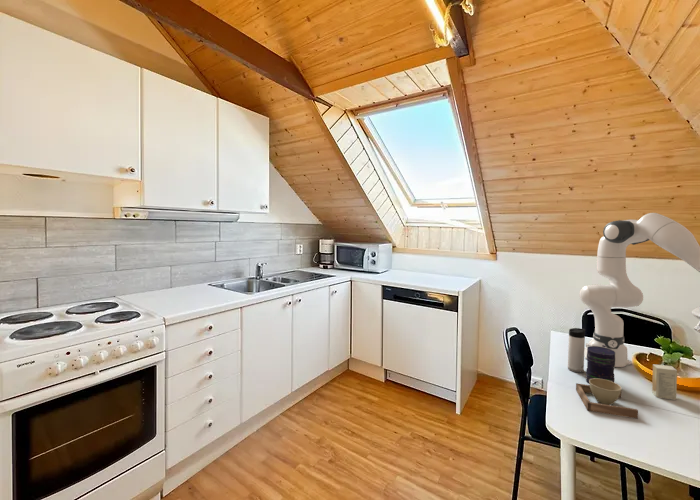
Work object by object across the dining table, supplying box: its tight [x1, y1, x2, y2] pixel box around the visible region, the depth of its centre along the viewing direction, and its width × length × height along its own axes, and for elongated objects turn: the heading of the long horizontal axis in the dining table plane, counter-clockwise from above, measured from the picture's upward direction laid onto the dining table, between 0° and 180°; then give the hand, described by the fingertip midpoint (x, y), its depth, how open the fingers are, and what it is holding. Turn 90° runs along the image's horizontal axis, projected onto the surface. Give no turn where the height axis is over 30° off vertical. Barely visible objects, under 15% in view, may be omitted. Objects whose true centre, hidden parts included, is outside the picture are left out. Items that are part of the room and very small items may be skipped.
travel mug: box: [567, 327, 587, 373], centre depth 155 cm, size 6×7×20 cm
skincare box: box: [651, 364, 678, 401], centre depth 130 cm, size 6×4×12 cm
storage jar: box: [585, 345, 616, 385], centre depth 141 cm, size 10×10×18 cm
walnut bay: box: [575, 382, 639, 420], centre depth 127 cm, size 16×15×3 cm
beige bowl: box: [588, 378, 622, 406], centre depth 128 cm, size 10×10×7 cm
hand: (696, 331), depth 118 cm, fingers closed
